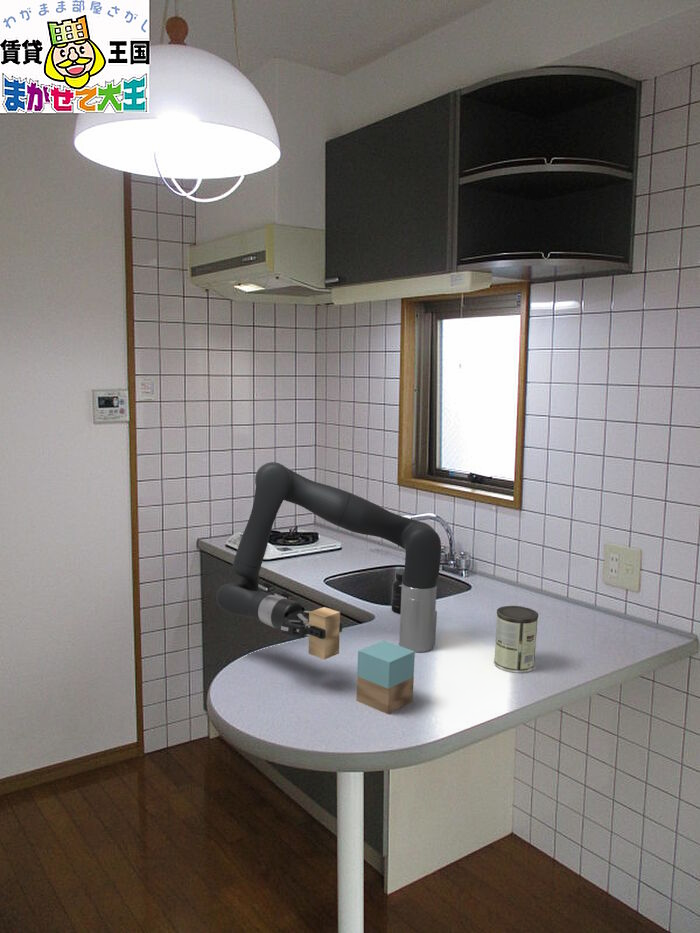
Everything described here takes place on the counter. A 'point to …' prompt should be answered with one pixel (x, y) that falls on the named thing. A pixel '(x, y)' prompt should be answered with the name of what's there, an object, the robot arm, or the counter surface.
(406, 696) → the walnut base block
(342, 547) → the counter surface
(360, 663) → the teal top block
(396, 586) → the supplement bottle
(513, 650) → the coffee can
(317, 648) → the oak block
